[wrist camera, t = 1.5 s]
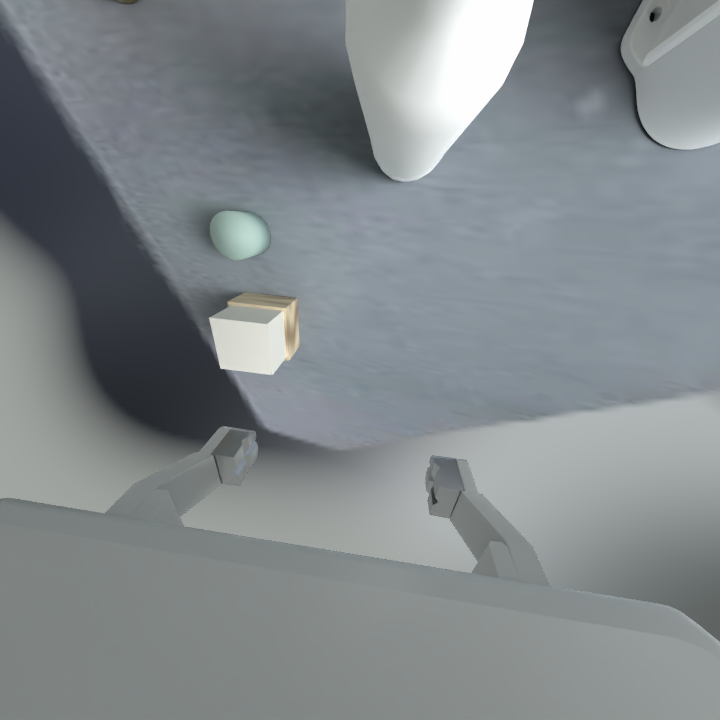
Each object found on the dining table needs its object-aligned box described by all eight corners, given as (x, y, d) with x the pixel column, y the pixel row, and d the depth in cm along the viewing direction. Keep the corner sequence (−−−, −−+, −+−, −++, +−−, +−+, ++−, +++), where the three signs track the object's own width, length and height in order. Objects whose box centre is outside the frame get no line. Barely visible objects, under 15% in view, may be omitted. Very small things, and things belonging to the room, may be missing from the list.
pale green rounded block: (229, 209, 33) (205, 208, 29) (269, 213, 33) (250, 213, 29) (236, 252, 36) (214, 257, 31) (272, 256, 35) (255, 262, 31)
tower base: (245, 291, 39) (227, 301, 34) (297, 297, 38) (285, 308, 34) (252, 340, 42) (236, 354, 38) (299, 345, 42) (288, 360, 38)
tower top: (232, 305, 34) (209, 317, 30) (283, 310, 34) (267, 324, 30) (240, 351, 38) (220, 368, 33) (286, 356, 37) (272, 375, 33)
